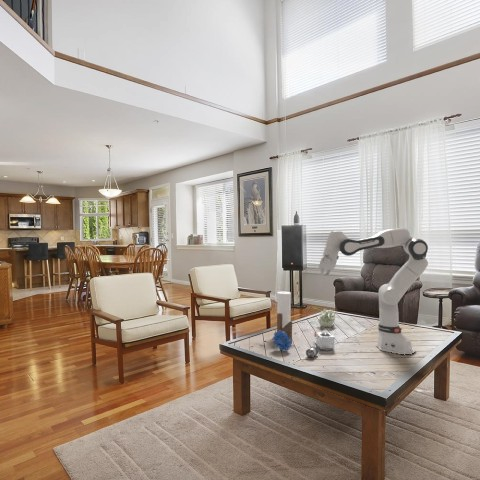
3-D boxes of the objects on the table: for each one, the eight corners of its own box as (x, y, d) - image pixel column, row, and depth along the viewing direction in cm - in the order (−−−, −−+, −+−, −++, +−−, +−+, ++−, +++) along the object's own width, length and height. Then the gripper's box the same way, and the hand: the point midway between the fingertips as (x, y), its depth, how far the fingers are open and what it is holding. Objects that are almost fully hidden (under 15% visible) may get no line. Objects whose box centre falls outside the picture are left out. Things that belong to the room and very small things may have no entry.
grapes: (270, 351, 211) (270, 331, 211) (274, 347, 217) (274, 328, 217) (289, 353, 206) (289, 333, 206) (292, 350, 213) (292, 330, 212)
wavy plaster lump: (330, 336, 266) (332, 320, 258) (314, 329, 272) (316, 314, 265) (339, 322, 279) (341, 307, 271) (323, 316, 285) (325, 301, 277)
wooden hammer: (289, 344, 225) (289, 316, 225) (275, 340, 232) (275, 313, 232) (292, 342, 228) (292, 315, 227) (278, 339, 235) (278, 312, 235)
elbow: (334, 348, 213) (334, 336, 213) (321, 348, 212) (321, 337, 212) (323, 339, 232) (323, 328, 232) (310, 339, 231) (310, 329, 230)
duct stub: (310, 354, 206) (310, 345, 206) (318, 356, 203) (318, 347, 203) (305, 357, 201) (305, 348, 201) (313, 358, 198) (313, 350, 198)
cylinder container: (287, 337, 240) (287, 293, 240) (274, 334, 245) (275, 292, 245) (292, 333, 248) (292, 291, 248) (280, 331, 253) (280, 290, 253)
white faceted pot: (336, 348, 216) (337, 334, 216) (326, 352, 210) (326, 337, 210) (323, 344, 224) (323, 330, 224) (313, 347, 218) (313, 333, 218)
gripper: (329, 255, 214) (323, 277, 215) (339, 257, 231) (333, 277, 232) (319, 253, 217) (313, 274, 218) (330, 254, 234) (325, 274, 235)
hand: (324, 275), depth 225 cm, fingers open, 8 cm apart
